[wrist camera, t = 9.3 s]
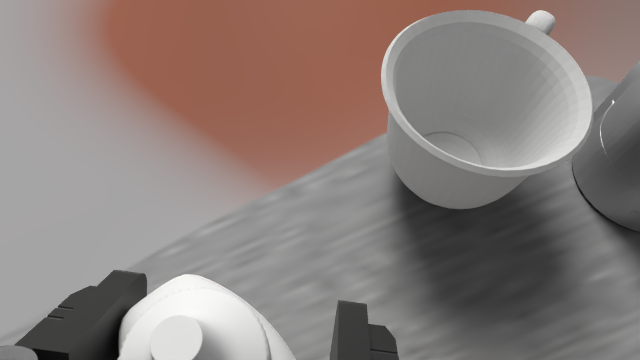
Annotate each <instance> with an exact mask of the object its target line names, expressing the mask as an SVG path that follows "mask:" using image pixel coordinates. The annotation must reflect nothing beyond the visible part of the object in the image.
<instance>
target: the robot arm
mask: <svg viewBox="0 0 640 360" xmlns="http://www.w3.org/2000/svg"><path fill="white" fill-rule="evenodd" d="M572 165H573V172H574V176H575V179H576V181H577V184H578V186H579V188H580V189H581V191H582V192H583V194H584V195H585V197H586V198H587V199H588V200H589V202H590V203H591V204H592V205H593V206H594V207H595V208H596V209H597V210H599V211H600V212H601V213H602V214H603V215H605V216H606V217H607V218H609V219H611V220H612V221H614V222H616V223H618V224H619V225H621V226H624V227H627V228H629V229H632V230H634V231H639V232H640V60H639V61H638V63H637V64H636V65H635V66H634V67H633V68H632V69H631V71H630V72H629V73H628V74H627V75H626V76H625V78H624V79H623V80H622V81H621V82H620V83H619V84H618V86H617V87H616V88H615V89H614V90H613V91H612V92H611V94H610V95H609V96H608V97H607V98H606V99H605V101H604V102H603V103H602V104H601V105H600V106H599V107H598V109H597V110H596V111H595V112H594V117H593V124H592V128H591V132H590V134H589V136H588V138H587V140H586V142H585V144H584V145H583V146H582V148H581V149H580V150H579V151H578V152H577V153H576V154H575V155H574V156H573V161H572ZM146 296H147V278H146V275H145V274H143V273H136V272H128V271H121V270H114V271H113V272H111V273H110V274H109V275H108V276H107V277H106V278H105V279H104V280H103V281H102V282H101V283H100V284H99V285H98V286H97V287H95V286H89V287H86V288H84V289H82V290H80V291H77V292H75V293H73V294H71V295H70V296H69V297H68V298H66V299H65V300H64V301H63V302H62V303H61V304H60V305H59V306H58V308H55V309H54V310H53V311H52V312H51V313H50V314H49V315H48V317H47V318H44V319H43V320H42V321H41V322H40V323H38V324H37V325H36V326H35V327H34V328H33V329H32V330H31V331H29V332H28V333H27V334H26V335H25V336H24V337H23V338H22V339H21V340H19V341H18V342H17V343H16V344H15V345H14V346H0V360H117V359H118V357H119V347H118V340H119V329H120V325H121V322H122V318H123V317H124V316H125V315H126V314H127V312H128V311H129V310H130V309H131V308H132V307H133V306H134V305H136V304H137V303H138V302H139V301H141V300H142V299H143V298H145V297H146ZM397 353H398V352H397V346H396V340H395V338H394V337H393V336H392V334H391V333H390V332H389V331H388V329H387V328H386V327H385V326H380V325H373V324H368V315H367V305H366V304H363V303H355V302H348V301H340V300H339V301H338V305H337V311H336V318H335V325H334V332H333V339H332V345H331V352H330V360H399V358H398V355H397Z"/></svg>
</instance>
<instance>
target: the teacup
mask: <svg viewBox="0 0 640 360" xmlns="http://www.w3.org/2000/svg"><path fill="white" fill-rule="evenodd" d="M554 25H555V19H554V17H553V16H552V15H551V14H550V13H548V12H546V11H537V12H535V13H533V14H532V15H531V16H530V18H529V19H528V20H527V21H526V22H525V23H524V22H522V21H519V20H516V19H514V18H511V17H508V16H505V15H501V14H497V13H492V12H487V11H478V10H459V11H450V12H444V13H440V14H436V15H433V16H429V17H426V18H424V19H421V20H419V21H417V22H415V23H413V24H412V25H410V26H408V27H407V28H405V29H404V30H403V31H402V32H400V33H399V34H398V35H397V37H396V38H395V39H394V40H393V41H392V43H391V44H390V46H389V48H388V49H387V52H386V54H385V57H384V60H383V65H382V69H381V83H382V90H383V94H384V98H385V101H386V103H387V106H388V108H389V118H388V132H387V142H388V151H389V156H390V160H391V163H392V165H393V168H394V170H395V172H396V173H397V175H398V176H399V178H400V179H401V180H402V182H403V183H404V184H405V185H406V186H407V187H408V188H409V189H410V190H411V191H412V192H414V193H415V194H416V195H417V196H419V197H420V198H421V199H423V200H425V201H426V202H429V203H431V204H434V205H438V206H441V207H446V208H451V209H470V208H477V207H480V206H484V205H486V204H489V203H491V202H493V201H496V200H498V199H499V198H501V197H503V196H504V195H506V194H507V193H509V192H510V191H512V190H513V189H514V188H515V187H517V186H518V185H519V184H520V183H521V182H523V181H524V180H525V179H526V178H527V177H529V176H530V175H534V174H537V173H541V172H545V171H548V170H550V169H552V168H555V167H557V166H559V165H561V164H563V163H564V162H566V161H567V160H569V159H570V158H571V157H573V156H574V155H575V154H576V153H577V152H578V151H579V150H580V149H581V148H582V146H583V145H584V144H585V142H586V140H587V138H588V136H589V134H590V132H591V128H592V124H593V117H594V107H593V99H592V95H591V90H590V88H589V85H588V83H587V80H586V78H585V76H584V74H583V73H582V71H581V69H580V67H579V66H578V65H577V63H576V62H575V61H574V59H573V58H572V57H571V56H570V54H569V53H568V52H567V51H566V50H565V49H564V48H563V47H561V46H560V45H559V44H558V43H557V42H556V41H554V40H553V39H552V38H550V37H549V34H550V32H551V31H552V29H553V27H554Z"/></svg>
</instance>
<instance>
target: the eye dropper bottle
mask: <svg viewBox="0 0 640 360" xmlns="http://www.w3.org/2000/svg"><path fill="white" fill-rule="evenodd" d="M118 347H119V357H118V359H117V360H296V358H295V356H294V355H293V353H292V352H291V350H290V348H289V347H288V346H287V344H286V343H285V342H284V340H283V339H282V337H281V336H280V335H279V334H278V333H277V331H276V330H275V329H274V328H273V327H272V325H271V324H270V323H269V322H268V321H267V320H266V319H265V318H264V317H263V316H262V315H261V314H260V313H259V312H258V311H256V310H255V309H254V308H253V307H252V306H251V305H249V304H248V303H247V302H246V301H244V300H243V299H242V298H240V297H239V296H237V295H236V294H234V293H233V292H231V291H230V290H228V289H226V288H224V287H223V286H221V285H219V284H217V283H215V282H213V281H211V280H209V279H206V278H204V277H201V276H199V275H189V274H185V275H182V276H179V277H176V278H173V279H172V280H170V281H168V282H167V283H165V284H163V285H162V286H160V287H159V288H158V289H156V290H155V291H153V292H152V293H150V294H149V295H147V296H146V297H145V298H143V299H142V300H141V301H139V302H138V303H137V304H136V305H134V306H133V307H132V308H131V309H130V310H129V311H128V312H127V314H126V315H125V316H124V317H123V318H122V322H121V325H120V329H119V340H118Z"/></svg>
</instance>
